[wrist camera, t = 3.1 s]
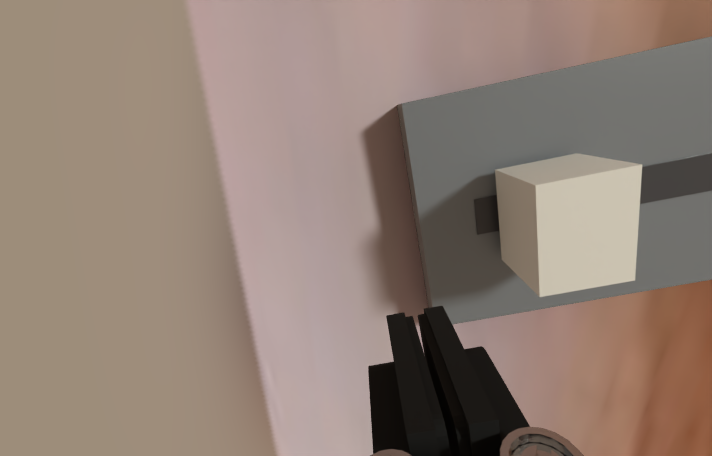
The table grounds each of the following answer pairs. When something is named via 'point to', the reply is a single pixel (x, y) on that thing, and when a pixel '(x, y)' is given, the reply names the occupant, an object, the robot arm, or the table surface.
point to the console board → (555, 139)
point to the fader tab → (570, 222)
